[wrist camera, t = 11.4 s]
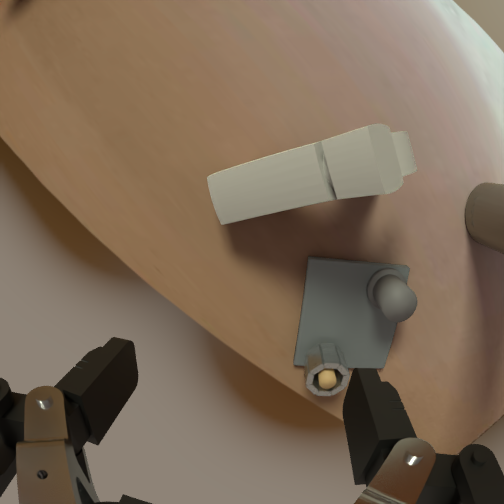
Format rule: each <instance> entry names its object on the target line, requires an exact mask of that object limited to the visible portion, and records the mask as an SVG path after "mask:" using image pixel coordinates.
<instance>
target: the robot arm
mask: <svg viewBox="0 0 504 504" xmlns="http://www.w3.org/2000/svg"><path fill="white" fill-rule="evenodd" d="M465 219H466V225H467V229H468V231H469V233H470V235H471V236H472V238H473V239H474V240H475V241H476V242H478V243H480V244H483V245H485V246H487V247H489V248H492V249H494V250H496V251H498V252H500V253H503V254H504V184H495V183H483V184H480V185H478V186H477V187H476V188H475V189H474V190H473V191H472V193H471V194H470V196H469V198H468V201H467V204H466V210H465ZM137 383H138V369H137V362H136V354H135V347H134V343H133V342H132V341H129V340H125V339H120V338H116V337H113V338H111V339H110V340H109V341H108V342H107V343H106V344H105V345H104V346H103V347H98V348H96V349H94V350H92V351H90V352H88V353H87V354H86V355H85V356H84V357H83V358H82V360H81V361H79V362H78V363H77V364H76V366H75V367H73V368H72V369H71V370H70V372H68V373H67V374H66V375H65V376H64V377H63V378H62V379H61V380H60V381H59V382H58V383H57V384H56V385H55V386H54V387H51V386H41V387H37V388H35V389H33V390H31V391H30V392H29V393H28V395H26V394H20V393H15V392H11V389H10V387H9V385H8V382H7V381H6V380H4V379H2V378H0V497H1V495H2V494H3V492H4V491H5V489H6V488H7V486H8V485H9V483H10V482H11V480H12V479H13V477H14V476H15V475H16V473H17V485H18V497H19V504H152V503H148V502H145V501H142V500H138V499H136V498H132V497H129V496H127V495H122V497H121V500H120V502H100V501H99V498H98V496H97V494H96V491H95V489H94V486H93V482H92V478H91V474H90V470H89V467H88V462H87V458H86V454H85V449H84V447H83V446H84V444H85V443H86V442H87V441H88V442H91V443H93V444H96V445H99V443H100V442H101V440H102V439H103V437H104V436H105V434H106V433H107V431H108V430H109V428H110V426H111V425H112V423H113V422H114V420H115V419H116V417H117V416H118V414H119V413H120V411H121V410H122V408H123V407H124V405H125V404H126V402H127V401H128V399H129V398H130V396H131V395H132V393H133V391H134V390H135V388H136V386H137ZM343 419H344V425H345V430H346V435H347V441H348V446H349V452H350V458H351V464H352V470H353V475H354V482H355V485H360V484H366V487H367V488H366V489H365V490H364V491H363V492H362V494H361V495H360V496H359V498H358V499H357V500H356V502H355V503H354V504H504V475H503V472H502V470H501V468H500V466H499V464H498V462H497V460H496V458H495V456H494V454H493V452H492V451H490V449H489V448H487V447H485V446H483V445H479V444H471V445H468V446H466V447H465V448H463V450H462V451H461V452H460V454H459V455H447V454H438V453H435V450H434V448H433V447H432V446H431V445H430V444H429V443H428V442H426V441H424V440H422V439H419V438H417V436H416V434H415V432H414V429H413V427H412V424H411V422H410V420H409V417H408V415H407V413H406V410H404V406H403V403H402V402H401V399H400V396H399V394H398V392H397V390H396V389H395V388H394V387H393V386H392V385H391V384H390V383H389V382H381V380H380V377H379V375H378V372H377V370H376V369H375V368H355V369H354V370H353V372H352V376H351V379H350V382H349V386H348V389H347V392H346V396H345V399H344V403H343Z"/></svg>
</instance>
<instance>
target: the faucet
mask: <svg viewBox="0 0 504 504" xmlns="http://www.w3.org/2000/svg"><path fill="white" fill-rule="evenodd" d="M416 171H417V167H416V163H415V159H414V155H413V151H412V147H411V144H410V140H409V136H408V133H407V131H402V132H393V133H391V132H390V129H389V126H386V125H384V124H372V125H368V126H365V127H362V128H359V129H356V130H353V131H350V132H347V133H344V134H341V135H338V136H335V137H332V138H329V139H326V140H323V141H320V142H316V143H312V144H308V145H305V146H301V147H298V148H294V149H290V150H287V151H283V152H280V153H277V154H273V155H270V156H266V157H263V158H260V159H257V160H253V161H250V162H247V163H244V164H241V165H238V166H235V167H232V168H229V169H225V170H222V171H220V172H217V173H214V174H212V175H210V176H208V177H207V180H208V186H209V191H210V195H211V199H212V202H213V205H214V208H215V211H216V213H217V216H218V218H219V220H220V223H221V225H224V224H229V223H233V222H238V221H242V220H246V219H250V218H255V217H259V216H263V215H268V214H272V213H276V212H281V211H285V210H290V209H294V208H299V207H303V206H308V205H313V204H317V203H322V202H327V201H331V200H336V199H346V198H354V197H363V196H372V195H381V194H389V193H393V192H395V191H396V190H398V189H399V188H400V187H401V186H402V185H403V176H406V175H409V174H412V173H414V172H416Z"/></svg>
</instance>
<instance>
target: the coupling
mask: <svg viewBox="0 0 504 504" xmlns="http://www.w3.org/2000/svg"><path fill="white" fill-rule="evenodd" d="M324 368H331V369H334V371H335V376H336V384H335V386H334V387H332V388H329V389H324V388H322V387H321V386H320V385H319V378H318V372H319V371H321V370H323V369H324ZM304 369H305V382H306V387H307V388H308V389H309V390H310V391H311V392H312V393H313V394H314V395H315V394H316V395H317V396H331V394H332V395H335V394H336V393H338V392H340V391H341V390H343V389H345V387H346V386H347V383H348V379H349V376H350V374H349V370H348V367H347V363H346V360H345V357H344V353H343V352H342V351H341V350H340V348H339V347H338V346H337V345H334V343H320V344H319V343H318V344H317V345H315V346H314V347H312V348H311V349H309V350H308V351H307V352H306V356H305V361H304Z"/></svg>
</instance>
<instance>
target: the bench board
mask: <svg viewBox="0 0 504 504" xmlns="http://www.w3.org/2000/svg"><path fill="white" fill-rule="evenodd" d="M409 270H410V268H409V267H408V266H407V265H396V264H385V263H375V262H364V261H353V260H342V259H332V258H321V257H310V256H308V263H307V271H306V279H305V286H304V294H303V301H302V308H301V315H300V322H299V329H298V335H297V342H296V348H295V354H294V360H293V361H294V365H301V366H304V361H305V356H306V352H307V351H308V350H309V349H311V348H312V347H314V346H315V345H317V344H318V343H319V344H320V343H334V345H337V346H338V347H339V348H340V350H341V351H342V352H343V353H344V357H345V360H346V363H347V367H348V368H384V366H385V363H386V359H387V356H388V353H389V350H390V346H391V343H392V340H393V336H394V332H395V329H396V325H397V322H402V321H405V320H407V319H408V318H409V317H410V316H411V315H412V314H413V313H414V311H415V309H416V306H417V297H416V295H415V293H414V292H413V291H412V290H411V289H410V288H409V287H408V286H407V279H408V275H409ZM318 378H319V385H320V386H321V387H322V388H324V389H329V388H332V387H334V386H335V384H336V376H335V371H334V369H331V368H324V369H323V370H321V371H319V372H318Z"/></svg>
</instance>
